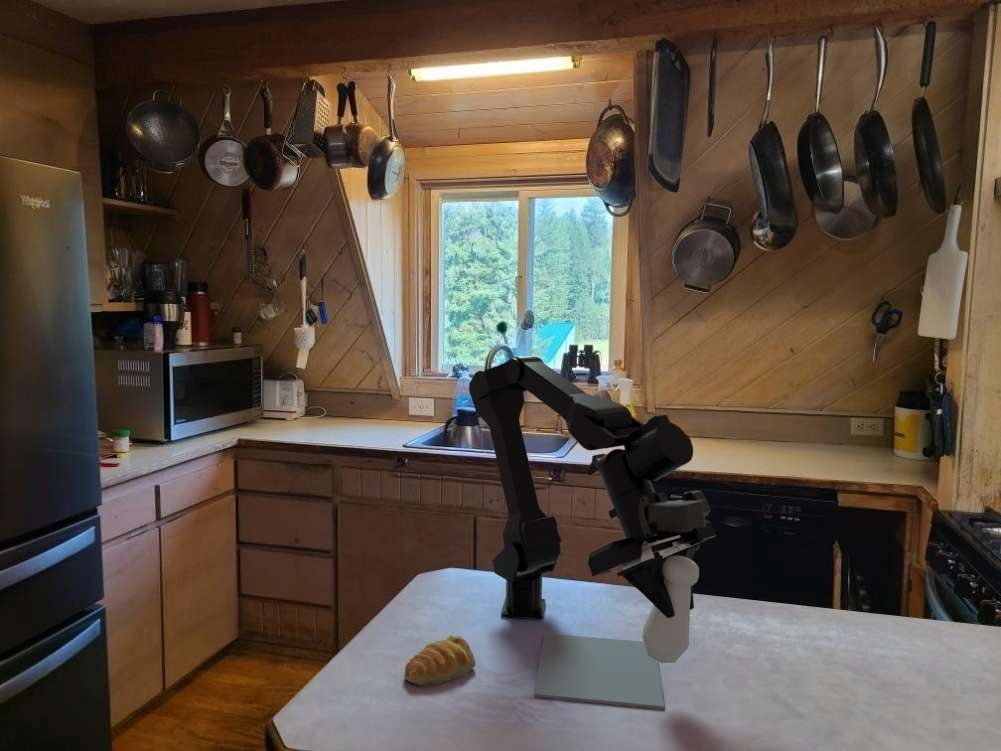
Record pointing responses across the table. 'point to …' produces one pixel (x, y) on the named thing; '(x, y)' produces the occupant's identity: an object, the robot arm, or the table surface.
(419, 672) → the pastry
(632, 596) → the table surface
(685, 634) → the salt shaker
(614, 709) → the table surface
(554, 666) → the slate mat
